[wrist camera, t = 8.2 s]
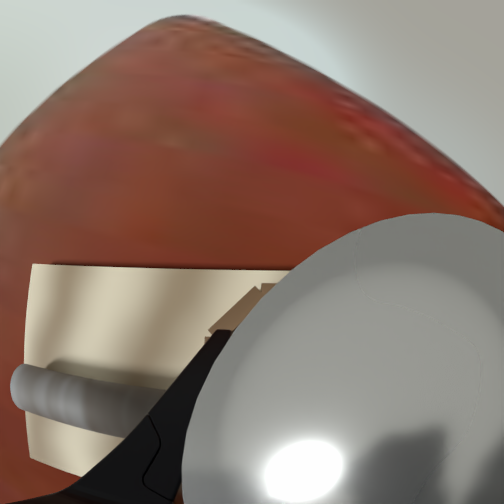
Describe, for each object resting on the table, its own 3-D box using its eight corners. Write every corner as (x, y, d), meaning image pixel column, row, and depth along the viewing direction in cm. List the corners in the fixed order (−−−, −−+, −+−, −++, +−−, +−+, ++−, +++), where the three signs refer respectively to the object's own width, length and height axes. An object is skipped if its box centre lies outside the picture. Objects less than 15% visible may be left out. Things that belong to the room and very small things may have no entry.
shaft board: (504, 272, 17) (538, 258, 14) (501, 447, 13) (534, 456, 10) (41, 267, 18) (6, 251, 14) (38, 454, 14) (4, 466, 10)
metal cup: (323, 309, 15) (520, 169, 3) (351, 397, 14) (577, 481, 1) (230, 338, 15) (100, 290, 2) (258, 428, 13) (265, 654, 1)
